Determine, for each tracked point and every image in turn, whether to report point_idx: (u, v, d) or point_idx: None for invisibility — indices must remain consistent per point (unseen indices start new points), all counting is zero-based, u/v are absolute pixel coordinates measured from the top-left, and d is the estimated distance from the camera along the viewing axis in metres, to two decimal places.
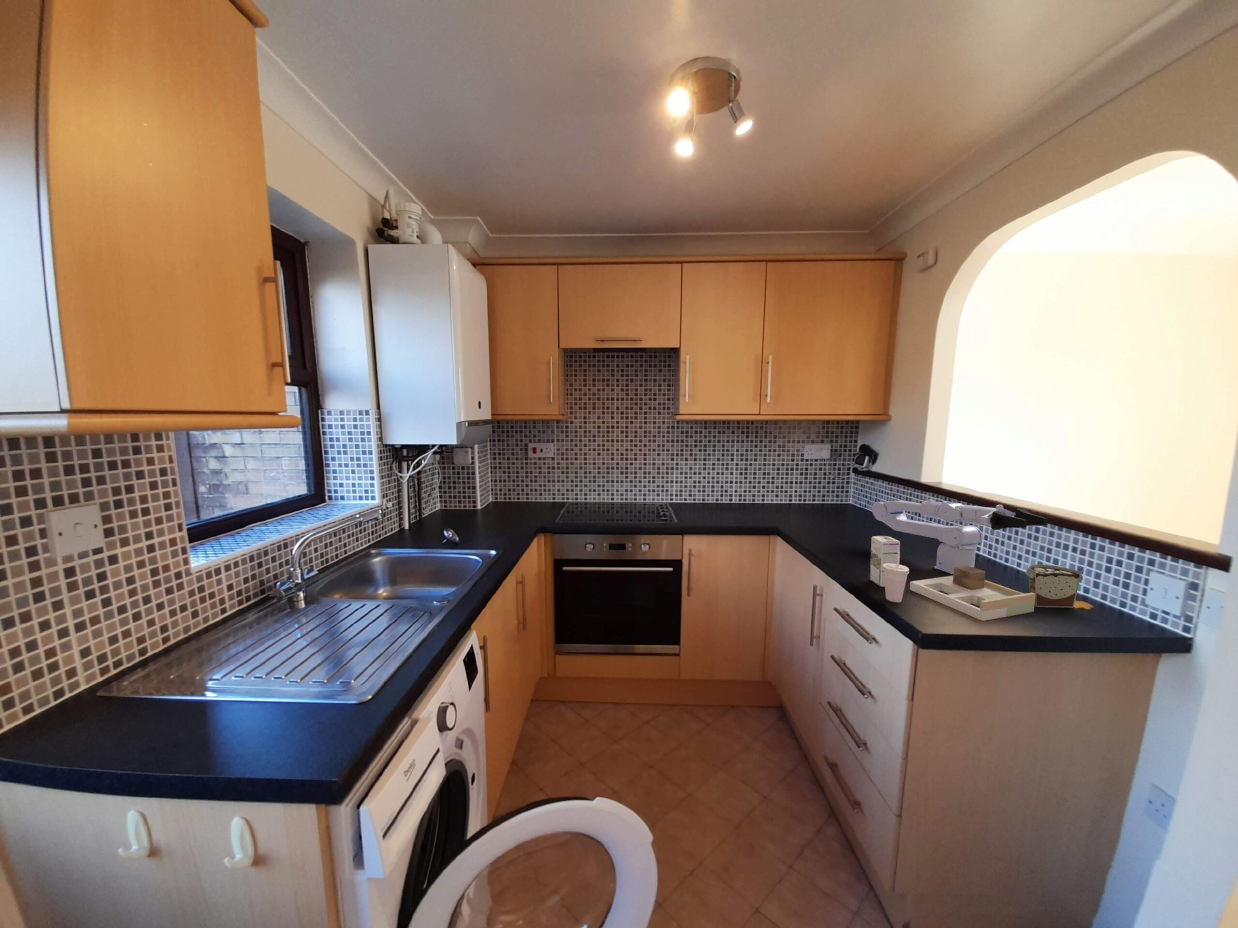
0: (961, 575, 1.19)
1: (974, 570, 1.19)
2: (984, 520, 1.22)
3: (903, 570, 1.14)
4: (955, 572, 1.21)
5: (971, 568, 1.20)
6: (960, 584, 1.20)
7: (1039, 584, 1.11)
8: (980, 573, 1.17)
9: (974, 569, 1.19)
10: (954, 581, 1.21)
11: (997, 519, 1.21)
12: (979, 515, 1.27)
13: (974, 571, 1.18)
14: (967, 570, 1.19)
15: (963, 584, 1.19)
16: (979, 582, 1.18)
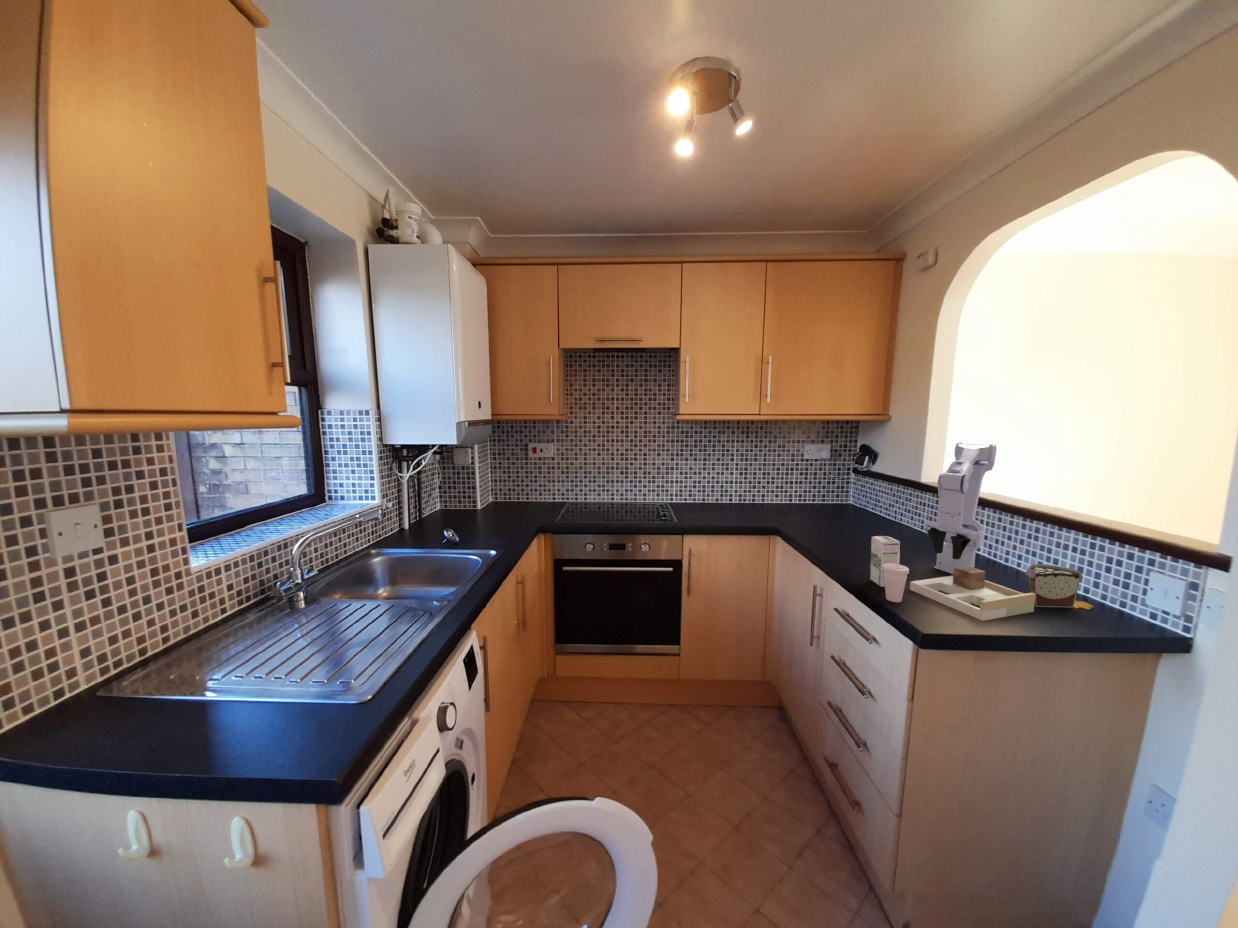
0: (961, 575, 1.19)
1: (974, 570, 1.19)
2: None
3: (903, 570, 1.14)
4: (955, 572, 1.21)
5: (971, 568, 1.20)
6: (960, 584, 1.20)
7: (1039, 584, 1.11)
8: (980, 573, 1.17)
9: (974, 569, 1.19)
10: (954, 581, 1.21)
11: None
12: None
13: (974, 571, 1.18)
14: (967, 570, 1.19)
15: (963, 584, 1.19)
16: (979, 582, 1.18)
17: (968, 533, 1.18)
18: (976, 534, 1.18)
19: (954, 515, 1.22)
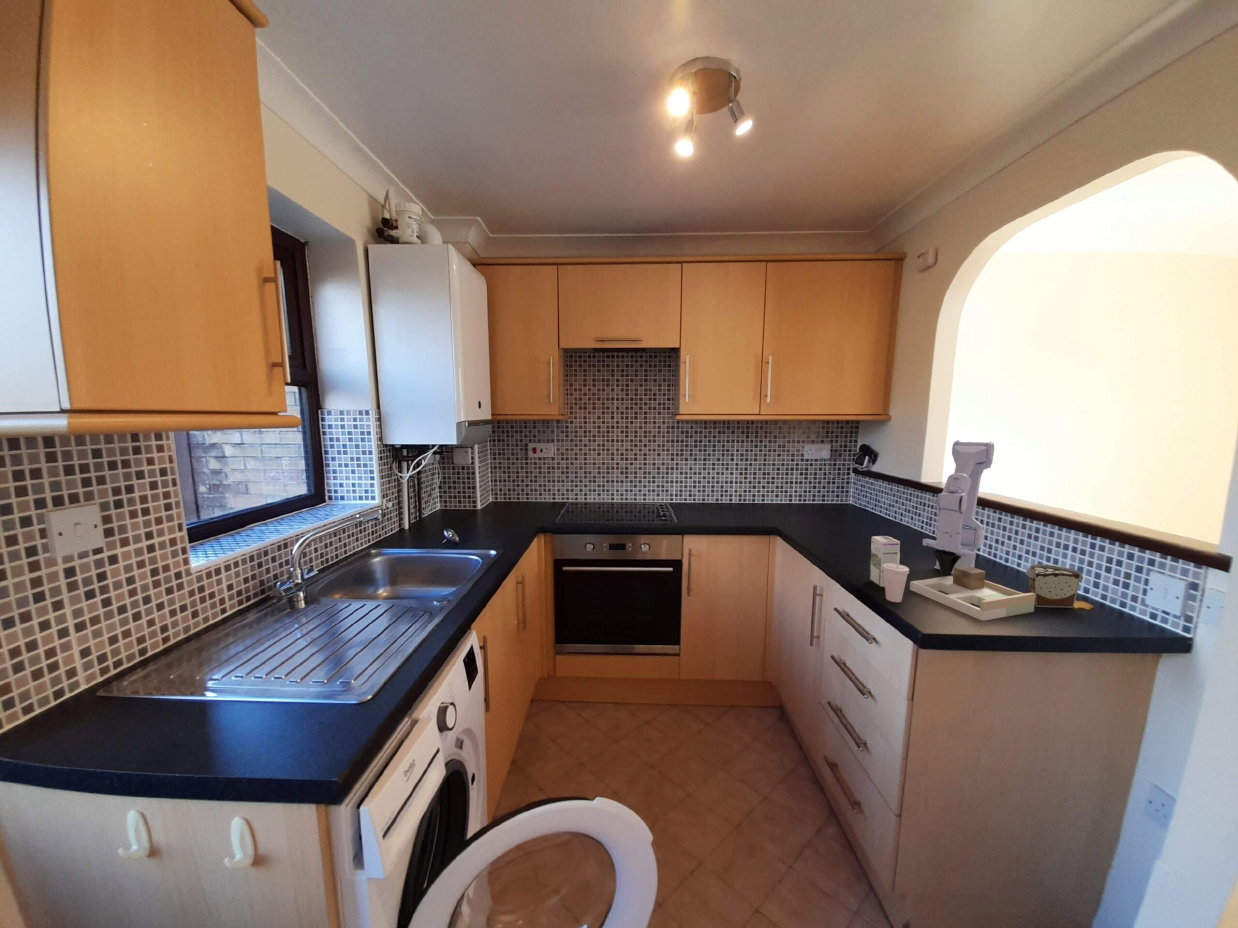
0: (961, 575, 1.19)
1: (974, 570, 1.19)
2: None
3: (903, 570, 1.14)
4: (955, 572, 1.21)
5: (971, 568, 1.20)
6: (960, 584, 1.20)
7: (1039, 584, 1.11)
8: (980, 573, 1.17)
9: (974, 569, 1.19)
10: (954, 581, 1.21)
11: None
12: None
13: (974, 571, 1.18)
14: (967, 570, 1.19)
15: (963, 584, 1.19)
16: (979, 582, 1.18)
17: (966, 553, 1.19)
18: (974, 554, 1.18)
19: (952, 535, 1.22)
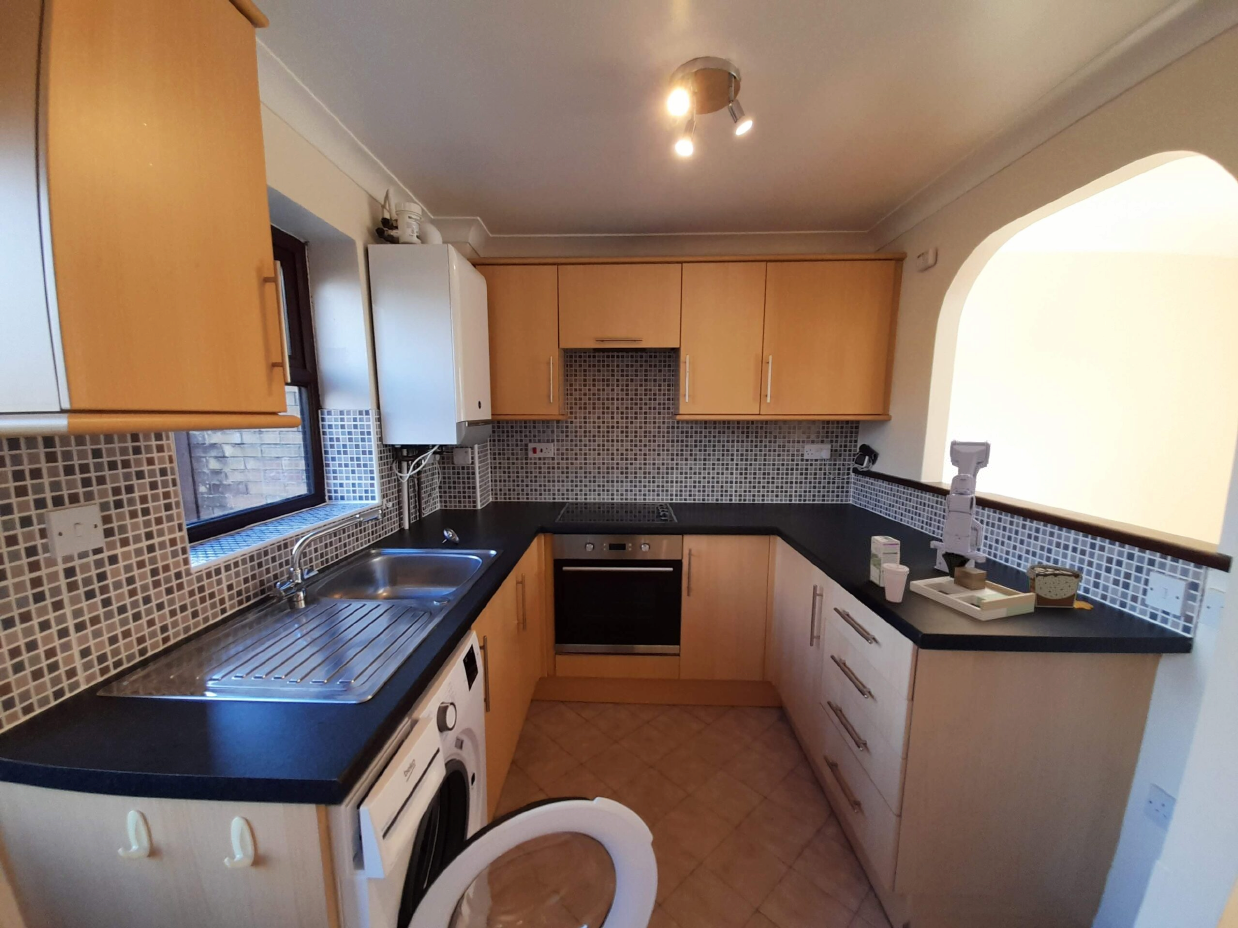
0: (963, 575, 1.19)
1: (976, 570, 1.18)
2: None
3: (903, 570, 1.14)
4: (956, 572, 1.21)
5: (973, 568, 1.20)
6: (961, 584, 1.19)
7: (1039, 584, 1.11)
8: (981, 574, 1.17)
9: (975, 569, 1.19)
10: (955, 581, 1.21)
11: None
12: None
13: (975, 571, 1.18)
14: (968, 570, 1.18)
15: (964, 584, 1.19)
16: (980, 582, 1.17)
17: (976, 556, 1.17)
18: (984, 557, 1.16)
19: (961, 537, 1.20)
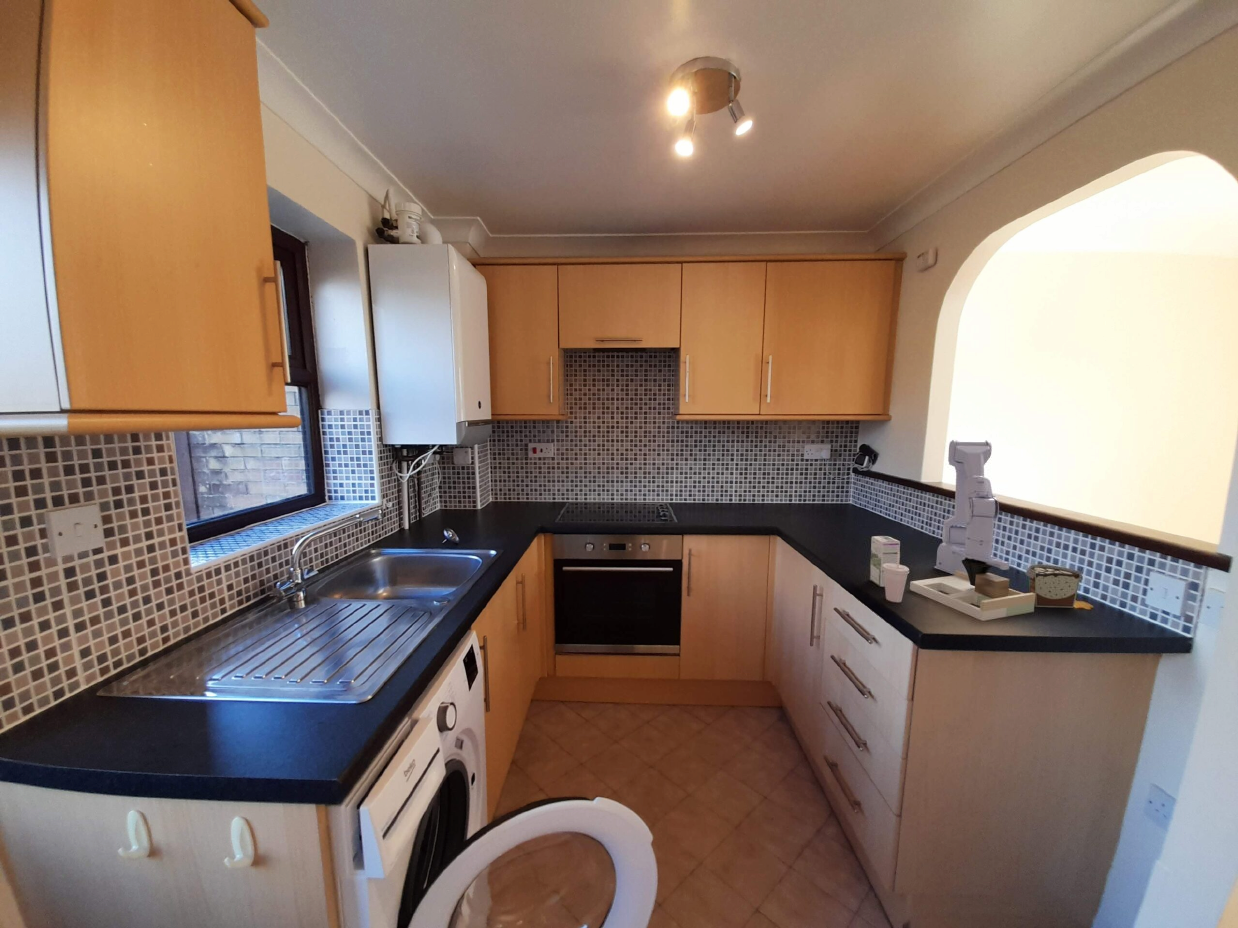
0: (984, 583, 1.13)
1: (998, 578, 1.13)
2: None
3: (903, 570, 1.14)
4: (977, 580, 1.15)
5: (994, 576, 1.14)
6: (983, 593, 1.14)
7: (1039, 584, 1.11)
8: (1004, 581, 1.11)
9: (997, 577, 1.13)
10: (976, 589, 1.16)
11: None
12: None
13: (998, 579, 1.12)
14: (990, 578, 1.13)
15: (986, 593, 1.13)
16: (1003, 591, 1.12)
17: (999, 563, 1.11)
18: (1008, 564, 1.10)
19: (983, 543, 1.14)
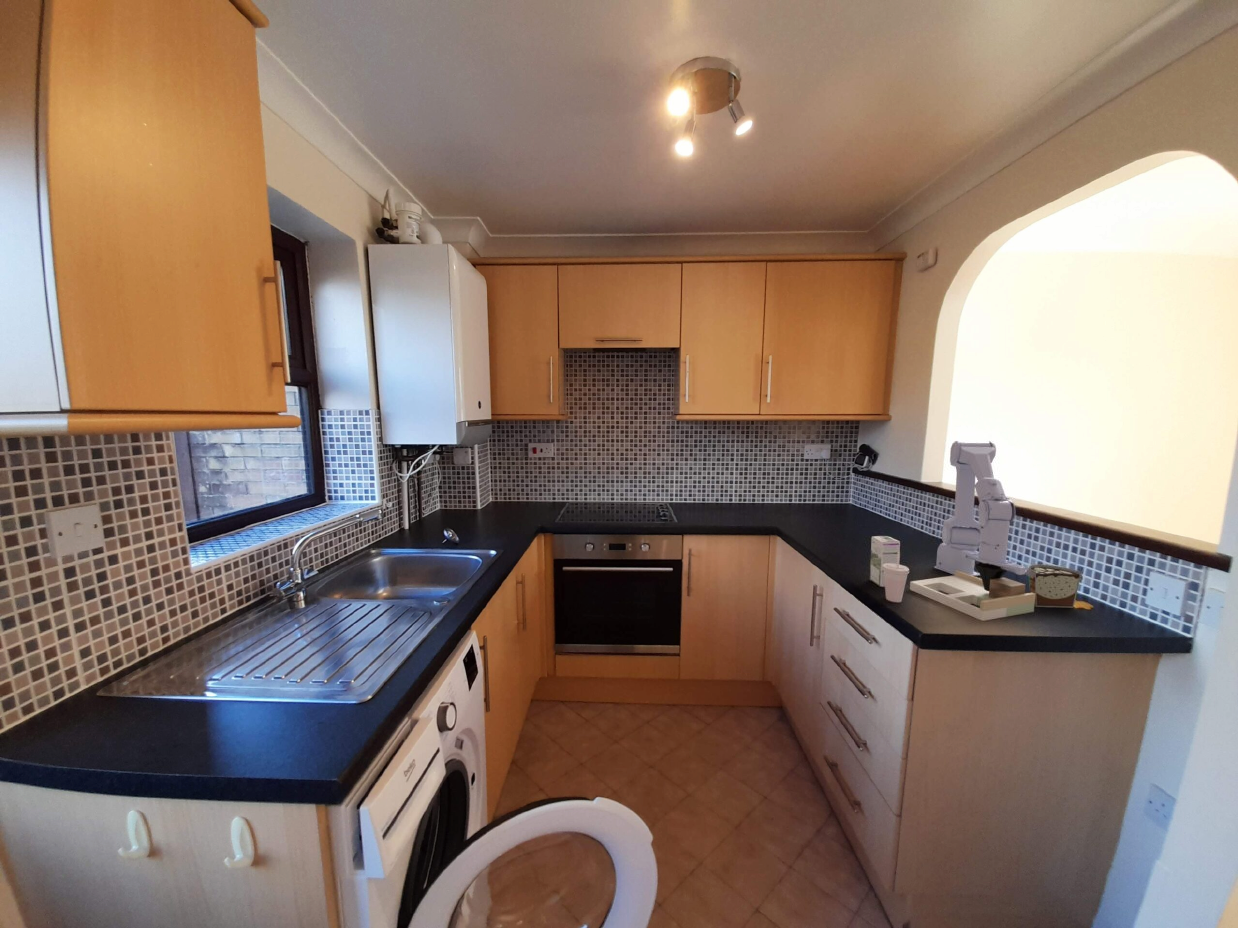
0: (999, 588, 1.10)
1: (1013, 583, 1.09)
2: None
3: (903, 570, 1.14)
4: (991, 585, 1.12)
5: (1009, 580, 1.11)
6: None
7: (1039, 584, 1.11)
8: (1020, 586, 1.08)
9: (1013, 582, 1.10)
10: (990, 594, 1.12)
11: None
12: None
13: (1013, 584, 1.09)
14: (1005, 583, 1.09)
15: None
16: None
17: (1015, 567, 1.08)
18: (1024, 569, 1.07)
19: (998, 547, 1.11)
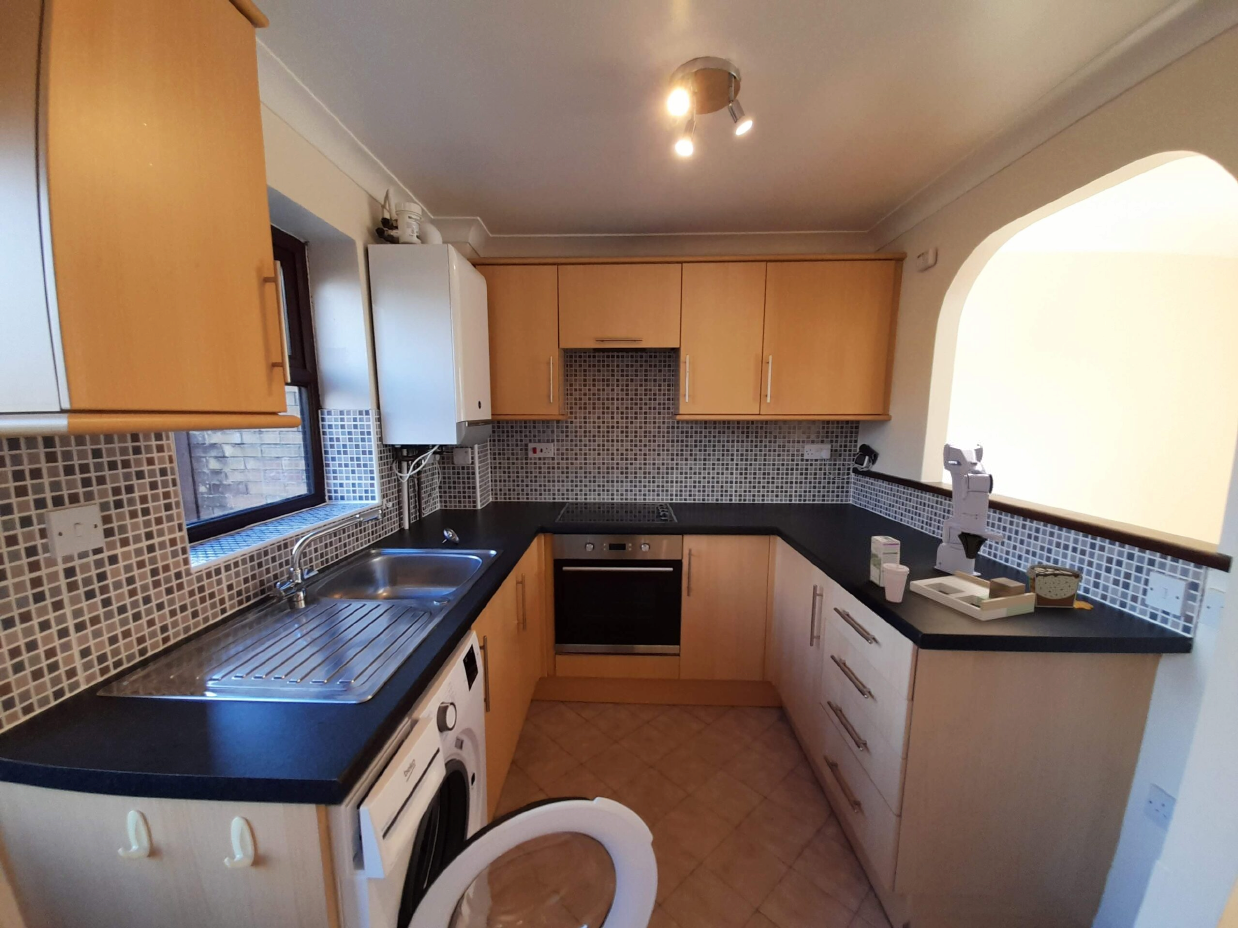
0: (999, 588, 1.10)
1: (1013, 583, 1.09)
2: None
3: (903, 570, 1.14)
4: (991, 585, 1.12)
5: (1009, 580, 1.11)
6: None
7: (1039, 584, 1.11)
8: (1020, 586, 1.08)
9: (1013, 582, 1.10)
10: (990, 594, 1.12)
11: None
12: None
13: (1013, 584, 1.09)
14: (1005, 583, 1.09)
15: None
16: None
17: (993, 535, 1.16)
18: (1002, 536, 1.15)
19: (978, 517, 1.19)
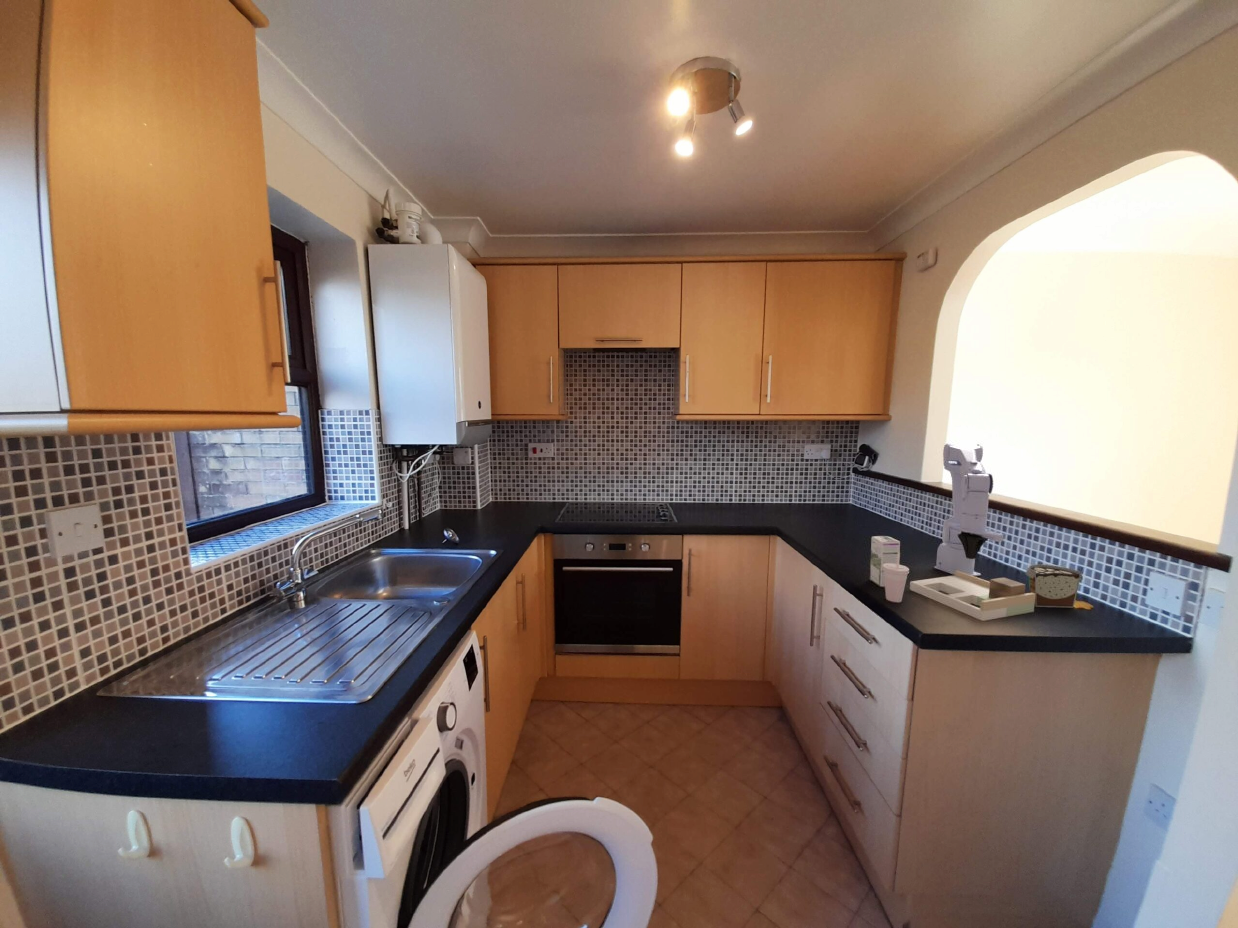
0: (999, 588, 1.10)
1: (1013, 583, 1.09)
2: None
3: (903, 570, 1.14)
4: (991, 585, 1.12)
5: (1009, 580, 1.11)
6: None
7: (1039, 584, 1.11)
8: (1020, 586, 1.08)
9: (1013, 582, 1.10)
10: (990, 594, 1.12)
11: None
12: None
13: (1013, 584, 1.09)
14: (1005, 583, 1.09)
15: None
16: None
17: (993, 535, 1.16)
18: (1002, 536, 1.15)
19: (978, 517, 1.19)
